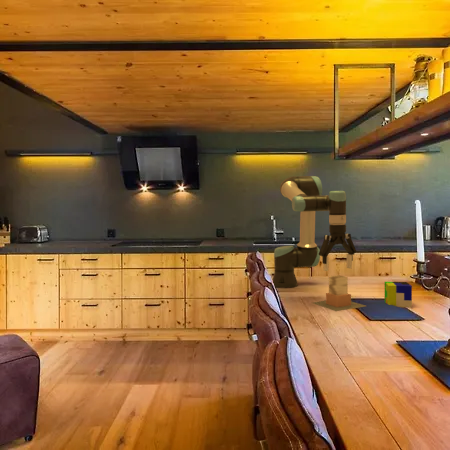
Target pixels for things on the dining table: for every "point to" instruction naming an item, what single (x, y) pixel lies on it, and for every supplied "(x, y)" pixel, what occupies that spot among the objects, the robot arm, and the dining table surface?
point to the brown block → (338, 285)
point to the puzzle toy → (398, 294)
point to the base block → (338, 300)
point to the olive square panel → (353, 305)
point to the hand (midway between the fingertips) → (337, 269)
